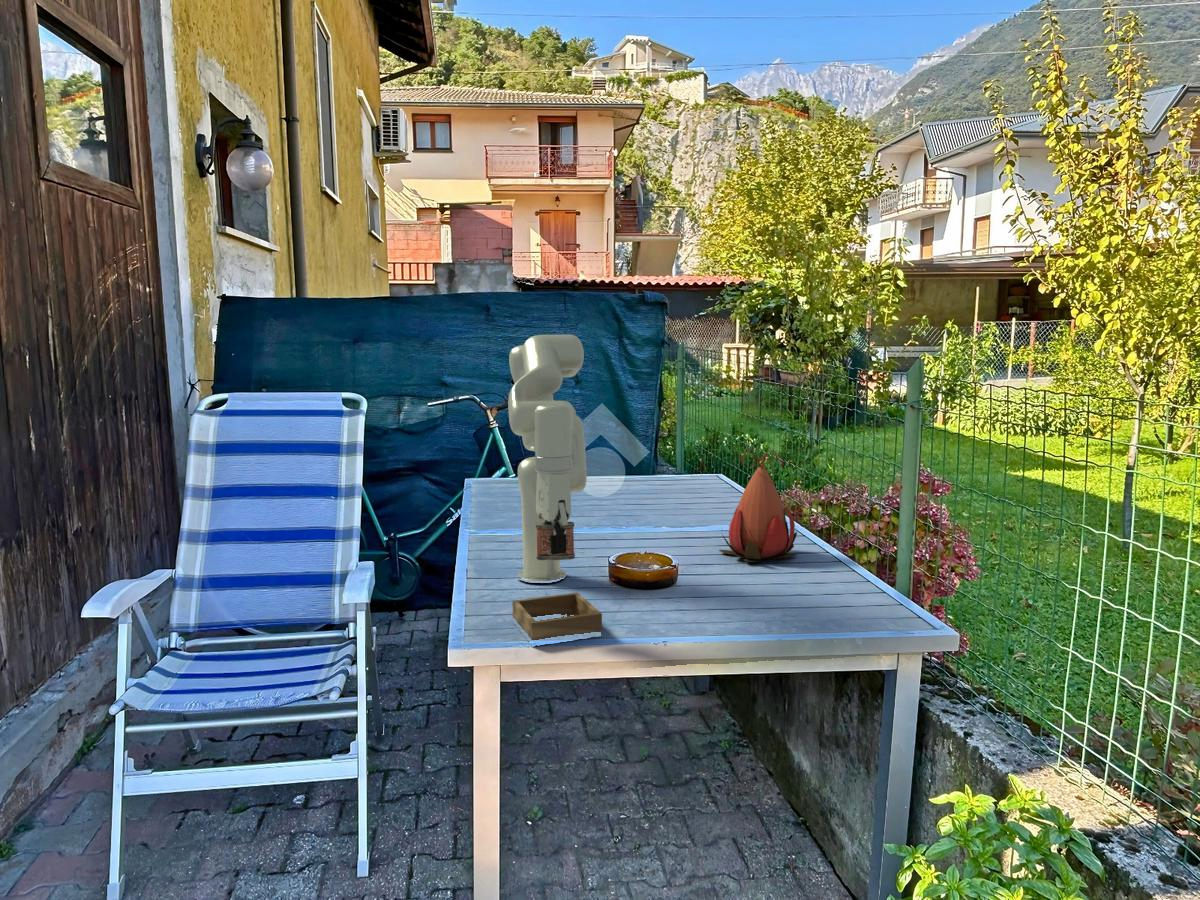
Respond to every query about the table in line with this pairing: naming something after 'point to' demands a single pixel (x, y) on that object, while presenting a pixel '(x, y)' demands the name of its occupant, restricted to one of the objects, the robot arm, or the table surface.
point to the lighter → (545, 541)
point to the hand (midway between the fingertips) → (555, 549)
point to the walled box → (569, 604)
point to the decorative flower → (761, 521)
